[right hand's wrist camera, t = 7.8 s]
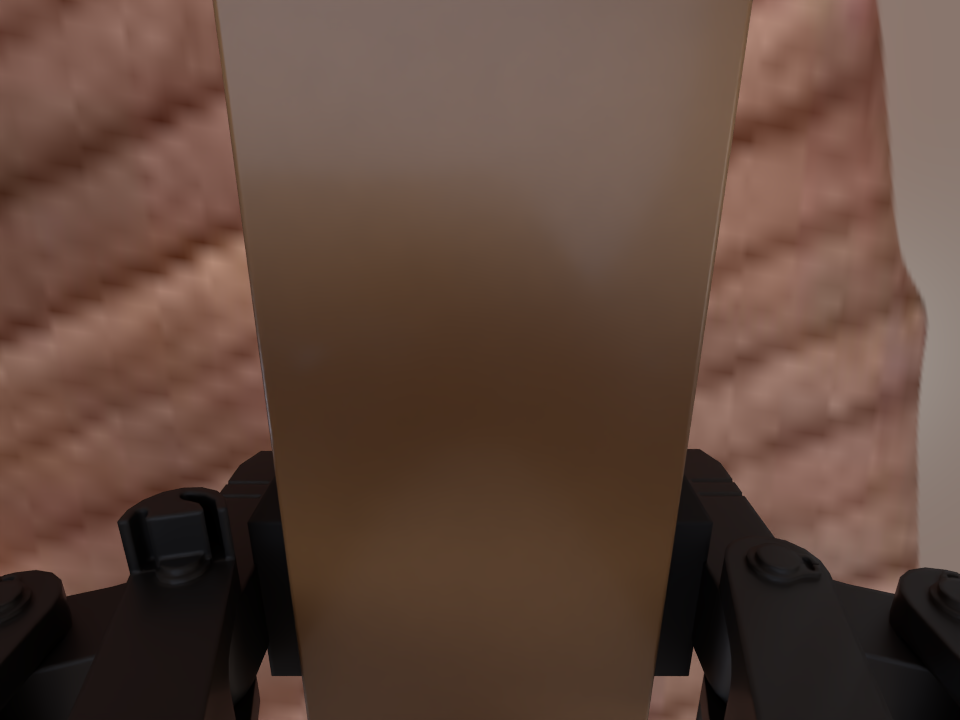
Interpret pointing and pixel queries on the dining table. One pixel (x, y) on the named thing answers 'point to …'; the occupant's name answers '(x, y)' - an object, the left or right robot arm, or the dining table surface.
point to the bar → (480, 332)
